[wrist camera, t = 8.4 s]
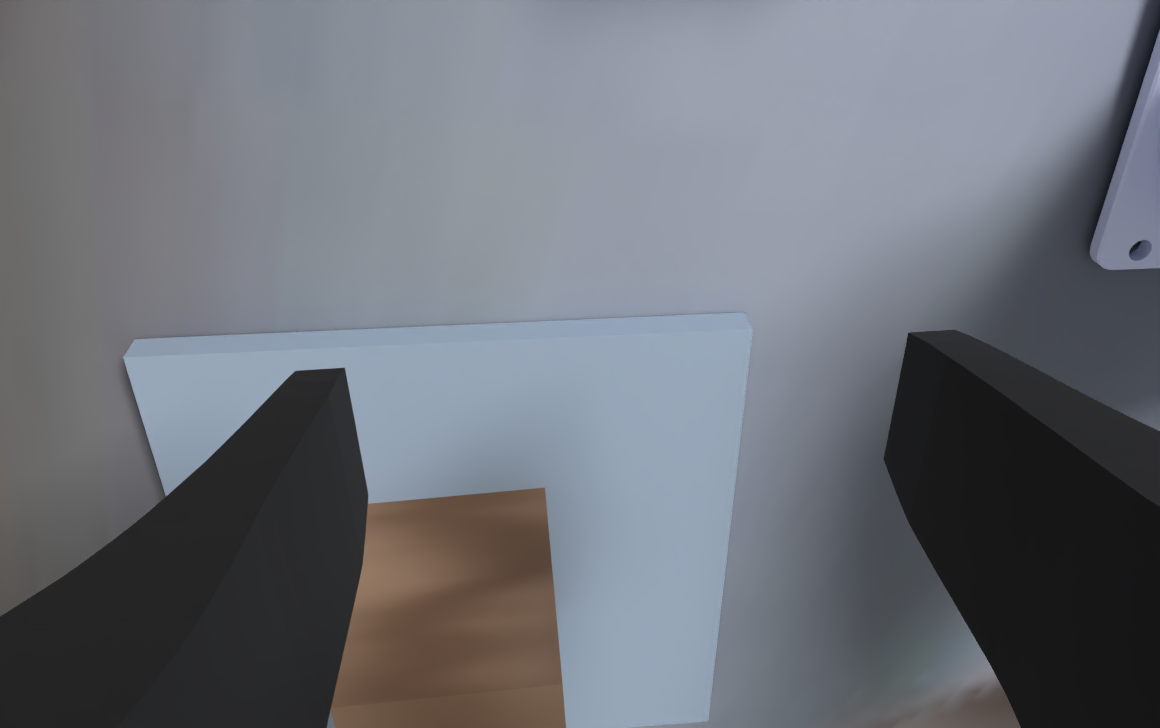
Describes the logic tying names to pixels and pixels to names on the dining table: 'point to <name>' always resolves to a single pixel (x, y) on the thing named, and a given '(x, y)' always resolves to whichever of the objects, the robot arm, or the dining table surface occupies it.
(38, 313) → the dining table surface
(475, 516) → the walnut block
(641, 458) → the slate mat
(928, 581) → the dining table surface
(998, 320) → the dining table surface
